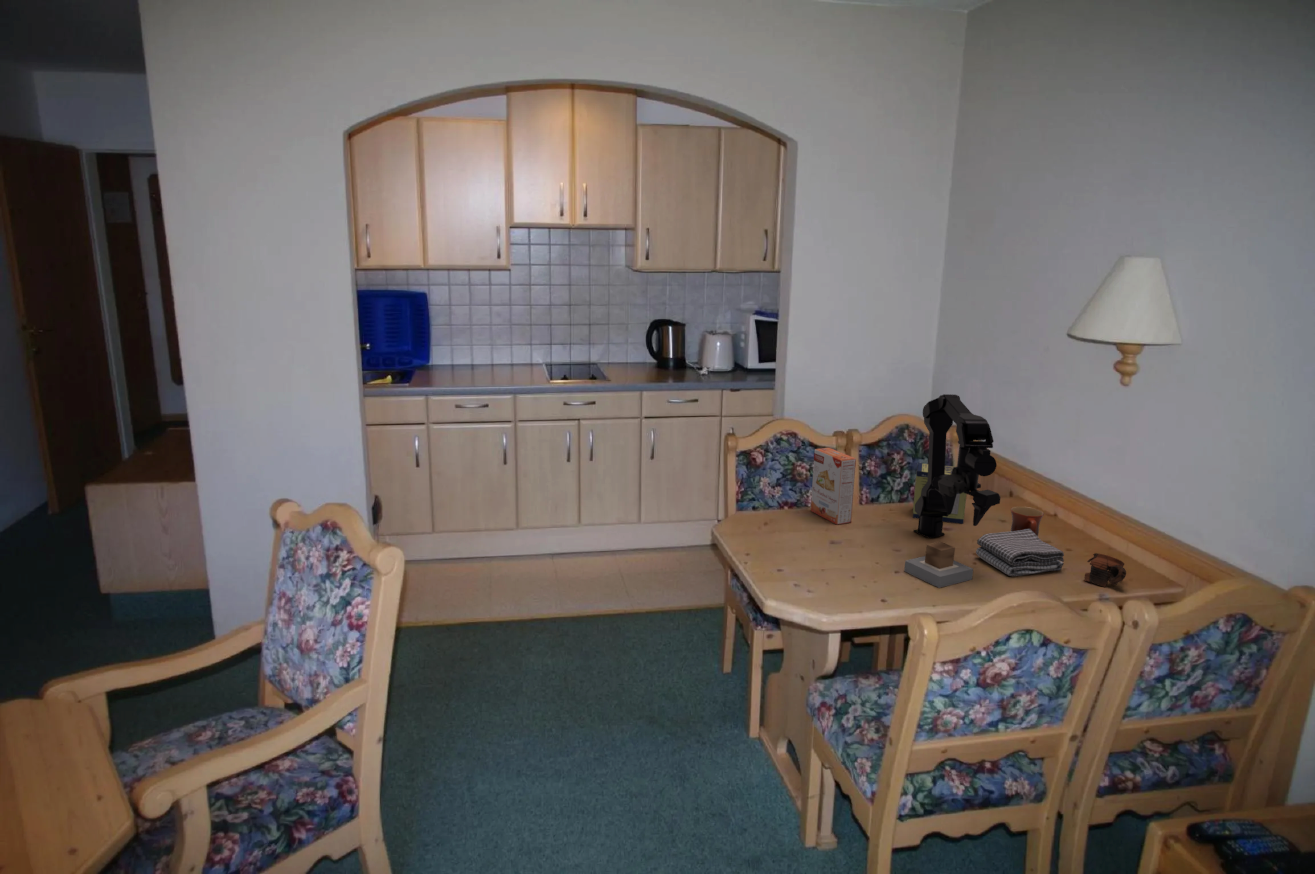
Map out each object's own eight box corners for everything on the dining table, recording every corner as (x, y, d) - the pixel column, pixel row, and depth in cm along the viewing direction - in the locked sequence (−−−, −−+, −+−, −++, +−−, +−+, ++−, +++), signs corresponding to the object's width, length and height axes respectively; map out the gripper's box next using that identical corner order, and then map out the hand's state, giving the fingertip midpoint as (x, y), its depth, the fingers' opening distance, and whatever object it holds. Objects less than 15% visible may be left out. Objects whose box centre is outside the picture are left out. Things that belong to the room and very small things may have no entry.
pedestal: (904, 571, 225) (905, 559, 224) (936, 563, 231) (937, 552, 230) (938, 587, 215) (940, 576, 214) (971, 579, 220) (973, 568, 220)
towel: (972, 558, 236) (975, 531, 234) (1027, 552, 241) (1030, 526, 239) (1009, 579, 222) (1013, 551, 220) (1066, 572, 227) (1070, 545, 225)
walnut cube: (924, 562, 223) (926, 544, 222) (938, 559, 225) (940, 541, 224) (939, 568, 219) (941, 550, 217) (953, 565, 221) (955, 547, 220)
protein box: (912, 508, 277) (917, 462, 273) (963, 514, 272) (968, 467, 269) (911, 518, 267) (916, 470, 264) (964, 524, 263) (969, 476, 259)
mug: (1003, 538, 251) (1007, 505, 249) (1034, 540, 250) (1038, 507, 247) (1014, 553, 239) (1018, 518, 237) (1046, 555, 238) (1051, 520, 236)
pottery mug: (1072, 578, 224) (1083, 549, 225) (1099, 591, 226) (1110, 563, 227) (1107, 584, 213) (1118, 554, 214) (1136, 599, 215) (1146, 568, 216)
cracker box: (809, 511, 271) (813, 448, 266) (824, 509, 274) (829, 446, 269) (835, 525, 259) (840, 459, 254) (851, 523, 261) (857, 457, 256)
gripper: (920, 458, 229) (914, 513, 233) (974, 478, 213) (966, 536, 217) (950, 454, 234) (944, 507, 238) (1005, 473, 218) (997, 529, 222)
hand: (961, 519), depth 229 cm, fingers open, 9 cm apart
